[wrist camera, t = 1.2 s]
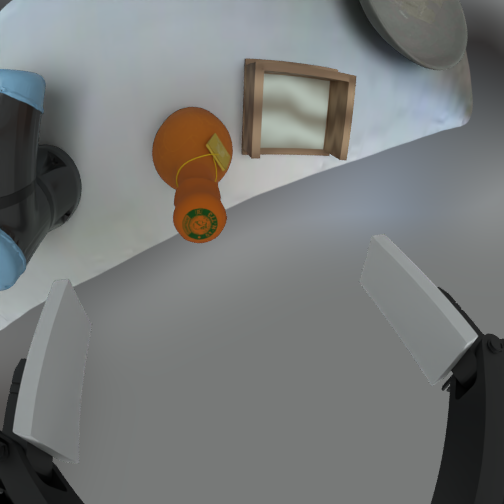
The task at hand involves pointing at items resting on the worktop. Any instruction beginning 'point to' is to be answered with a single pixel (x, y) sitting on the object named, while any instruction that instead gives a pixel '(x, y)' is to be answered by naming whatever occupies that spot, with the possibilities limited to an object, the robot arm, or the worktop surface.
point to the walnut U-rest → (296, 109)
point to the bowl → (421, 29)
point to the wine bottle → (194, 170)
